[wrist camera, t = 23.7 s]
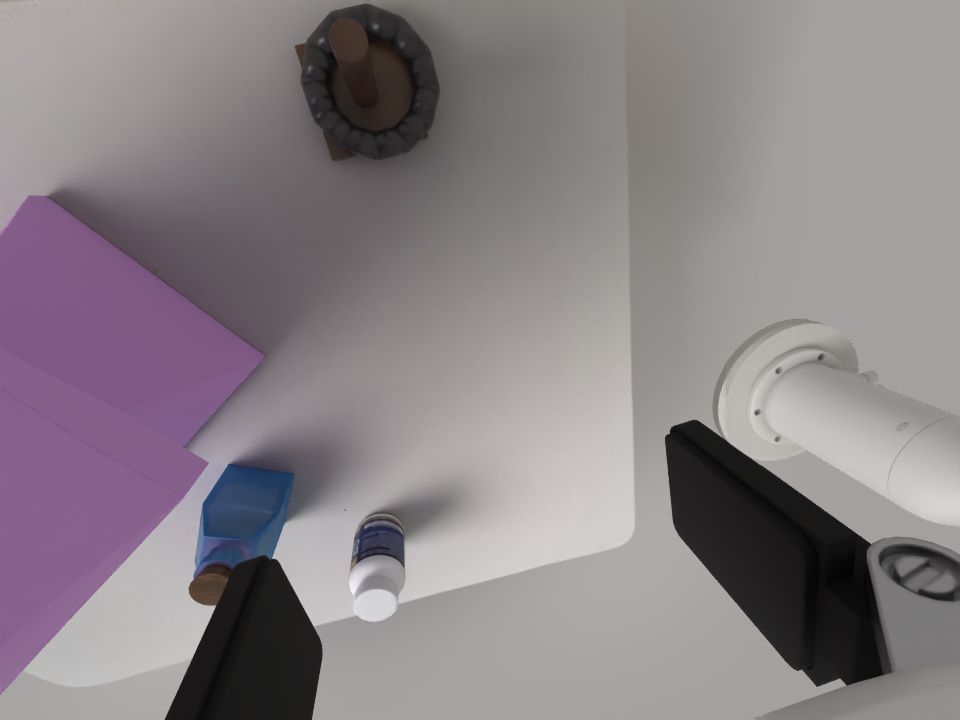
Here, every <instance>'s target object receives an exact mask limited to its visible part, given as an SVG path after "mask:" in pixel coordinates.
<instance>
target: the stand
mask: <svg viewBox="0 0 960 720" xmlns="http://www.w3.org/2000/svg"><path fill="white" fill-rule="evenodd" d="M329 42H330V46H331V48H332V51H333V53H334V55H335V59H334V61H333V67H332V73H331V80H330V86H331V89H332V93H333V96H334V99H335V102H336V105H337V108H338V109H339V110H340V111H341V112H342V113H343V114H344V115H345V116H346V117H347V118H348V119H349V120H350V121H351V122H352V123H353V124H354V125H357V126H360V127H363V128H366V129H369V130H372V131H378V130H382V129H386V128H390V127H394V126H395V125H396V124H397V123H398V122H399V121H400V120H401V119H402V118H403V116H404V115H405V114H406V113H407V112H408V111H409V107H410V102H411V97H412V92H413V86H412V82H411V78H410V74H409V71H408V67H407V65H406V63H405V62H404V61H403V60H402V59H401V58H400V56H399V55H398V54H397V53H396V52H395V51H394V49H393V48H392V47H391V46H388V45H385V44H383V43H380V42H377V41H375V40H372V39H367V35H366V32H365V30H364V29H363V27H362V26H361V25H360V24H359V23H358V22H356V21H355V20H353V19H349V18H342V19H339V20H337V21H336V22H335V23H334V24H333V25H332V27H331V29H330V32H329ZM305 45H306V43H305V44H301V45H296V46H295V49H296V52H297V55H298V58H299V61H300V64H301V67H302V66H303V59H304V52H305ZM323 133H324V136H325V139H326V142H327V145H328V148H329V151H330V154H331V157H332V160H333V161H338V160H342V159H346V158H350V157H354V156H358V154H354V153H351V152H348V151H345V150H343V149H341V148H340V147H339V146H338V145H337V144H336V143H335V142H334V141H333V140H332V139H331V138H330V137H329V136H328V135H327V134H326V133H325V132H324V131H323ZM427 137H428V135H427V133H426V134H425V135H424V136H423V137H422V138H421V139H420V140H423V139H427Z"/></svg>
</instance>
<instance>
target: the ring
mask: <svg viewBox="0 0 960 720" xmlns="http://www.w3.org/2000/svg"><path fill="white" fill-rule="evenodd" d="M342 18H349V19H353V20H355V21H356V22H358V23H359V24H360V25H361V26H362V27H363V29H364V30H365V32H366V35H367V39H372V40H375V41H377V42H380V43H383V44H385V45H388V46H391V47H392V48H393V49H394V51H395V52H396V53H397V54H398V55H399V56H400V58H401V59H402V60H403V61H404V62H405V63H406V65H407V67H408V71H409V74H410V78H411V82H412V86H413V92H412V97H411V102H410V107H409V111H408V112H407V113H406V114H405V115H404V116H403V118H402V119H401V120H400V121H399V122H398V123H397V124H396V125H395V126H394V127H390V128H386V129H382V130H378V131H372V130H369V129H366V128H363V127H360V126H357V125H354V124H353V123H352V122H351V121H350V120H349V119H348V118H347V117H346V116H345V115H344V114H343V113H342V112H341V111H340V110H339V109H338V108H337V105H336V102H335V99H334V96H333V93H332V89H331V86H330V80H331V73H332V67H333V61H334V59H335V55H334V53H333V51H332V48H331V46H330V42H329V32H330V29H331V27H332V25H333V24H334V23H335V22H336V21H337V20H339V19H342ZM301 85H302V88H303V91H304V94H305V97H306V99H307V102H308V105H309V108H310V111H311V114H312V117H313V119H314V121H315V123H316V124H317V125H318V126H319V127H320V128H321V129H322V130H323V131H324V132H325V133H326V134H327V135H328V136H329V137H330V138H331V139H332V140H333V141H334V142H335V143H336V144H337V145H338V146H339V147H340V148H341V149H343V150H345V151H348V152H351V153H354V154H358V155H361V156H364V157H367V158H370V159H374V160H380V159H384V158H388V157H392V156H395V155H399V154H403V153H406V152H409V151H410V150H411V149H412V148H413V147H414V146H415V145H416V144H417V142H418V141H419V140H420V139H421V138H422V137H423V136H424V135H425V134H426V133H427V131H428V130H429V129H430V128H431V126H432V124H433V119H434V115H435V110H436V106H437V101H438V97H439V92H440V88H439V83H438V79H437V75H436V71H435V67H434V63H433V59H432V55H431V52H430V49H429V48H428V46H427V45H426V44H425V43H424V42H423V40H422V39H421V38H420V37H419V35H418V34H417V33H416V32H415V31H414V29H413V28H412V27H411V26H410V25H409V23H408V22H407V21H406V20H405V19H404V18H403V17H401V16H399V15H396V14H394V13H391V12H388V11H386V10H383V9H381V8H378V7H376V6H373V5H371V4H361V5H356V6H352V7H348V8H343V9H339V10H335V11H332V12H330V13H329V14H328V15H327V16H326V18H325V19H324V20H323V21H322V22H321V24H320V25H319V26H318V27H317V28H316V30H315V31H314V32H313V33H312V34H311V35H310V37H309V38H308V39H307V41H306V45H305V52H304V59H303V66H302V73H301Z"/></svg>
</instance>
